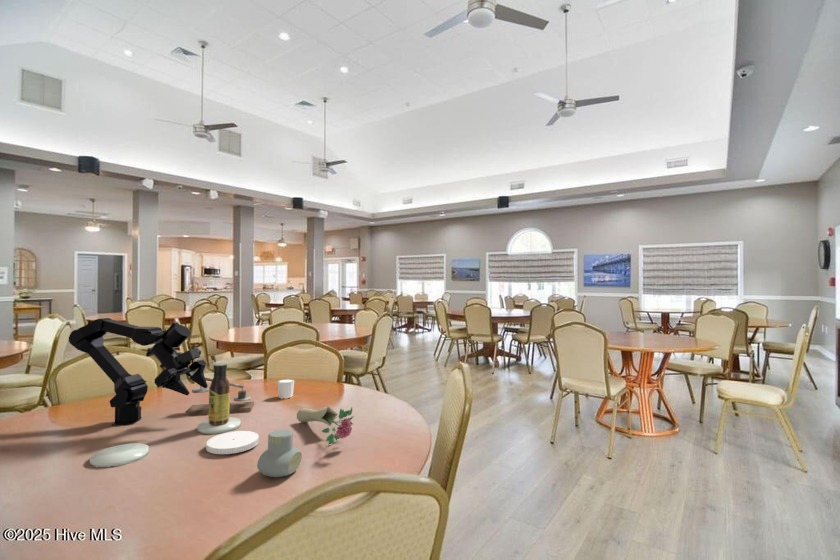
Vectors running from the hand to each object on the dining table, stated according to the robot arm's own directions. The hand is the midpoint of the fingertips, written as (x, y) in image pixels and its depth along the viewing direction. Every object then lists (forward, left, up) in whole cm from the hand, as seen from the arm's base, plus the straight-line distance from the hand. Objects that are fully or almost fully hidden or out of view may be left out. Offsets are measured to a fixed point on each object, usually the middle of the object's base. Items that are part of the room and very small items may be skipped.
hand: (197, 390), depth 136 cm
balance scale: (+4, +17, -12) cm, 21 cm away
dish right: (+8, -3, -12) cm, 14 cm away
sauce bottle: (+7, -3, -11) cm, 13 cm away
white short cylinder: (+26, +31, -12) cm, 42 cm away
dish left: (-13, -23, -12) cm, 29 cm away
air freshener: (+31, -41, -12) cm, 53 cm away
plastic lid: (+16, -21, -12) cm, 29 cm away
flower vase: (+42, -18, -12) cm, 47 cm away
